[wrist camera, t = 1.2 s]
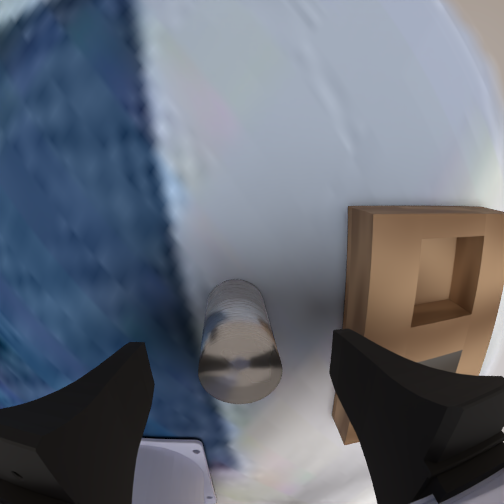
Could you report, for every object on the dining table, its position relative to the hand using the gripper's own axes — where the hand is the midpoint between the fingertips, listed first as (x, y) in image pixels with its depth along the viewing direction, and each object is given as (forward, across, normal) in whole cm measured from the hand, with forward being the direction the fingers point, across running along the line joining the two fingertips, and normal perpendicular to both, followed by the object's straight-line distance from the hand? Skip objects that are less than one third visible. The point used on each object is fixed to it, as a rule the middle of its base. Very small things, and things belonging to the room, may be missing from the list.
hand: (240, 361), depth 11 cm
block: (+5, -11, +2) cm, 12 cm away
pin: (+5, 0, 0) cm, 5 cm away
